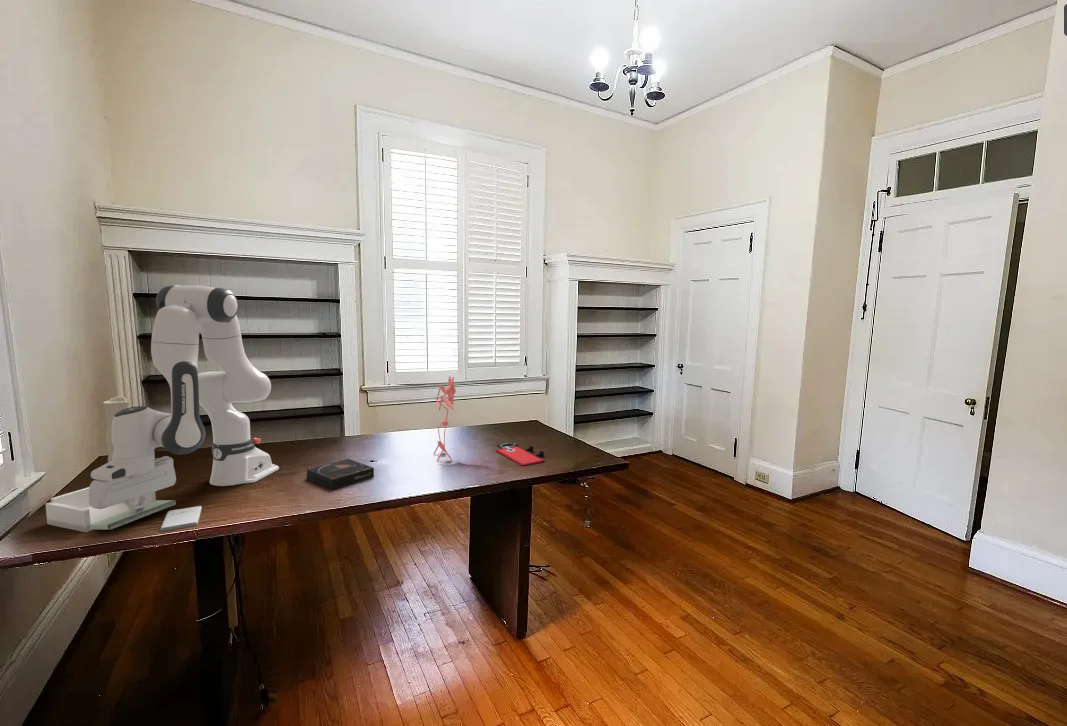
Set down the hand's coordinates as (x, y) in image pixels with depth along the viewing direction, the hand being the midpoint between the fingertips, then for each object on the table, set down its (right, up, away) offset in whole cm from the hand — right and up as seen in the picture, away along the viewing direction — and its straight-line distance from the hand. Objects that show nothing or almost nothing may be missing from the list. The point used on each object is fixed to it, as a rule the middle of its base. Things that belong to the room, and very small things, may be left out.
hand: (137, 511), depth 130 cm
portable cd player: (+42, -1, +39) cm, 57 cm away
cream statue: (-28, +1, +27) cm, 39 cm away
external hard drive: (+11, -4, +2) cm, 12 cm away
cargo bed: (-13, -2, +4) cm, 14 cm away
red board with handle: (+106, +1, +74) cm, 129 cm away
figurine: (+77, +2, +67) cm, 103 cm away
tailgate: (-5, -1, +1) cm, 5 cm away
